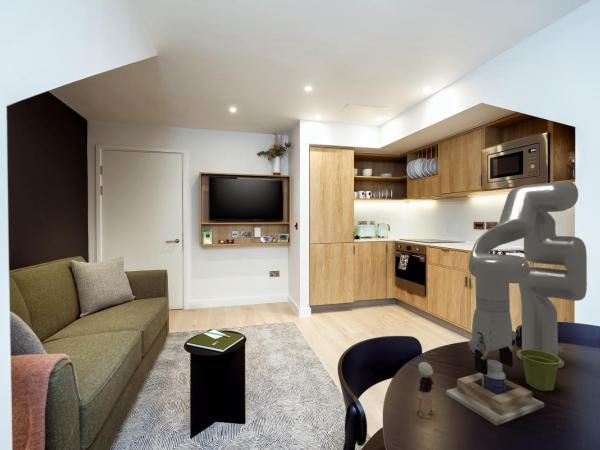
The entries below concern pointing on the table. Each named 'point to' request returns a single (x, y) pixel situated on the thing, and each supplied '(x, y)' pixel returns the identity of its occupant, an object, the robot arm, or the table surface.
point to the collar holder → (494, 399)
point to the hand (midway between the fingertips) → (493, 368)
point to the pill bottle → (494, 378)
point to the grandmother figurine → (425, 391)
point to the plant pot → (540, 368)
